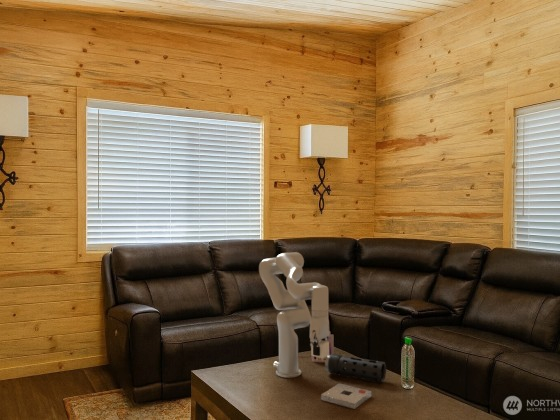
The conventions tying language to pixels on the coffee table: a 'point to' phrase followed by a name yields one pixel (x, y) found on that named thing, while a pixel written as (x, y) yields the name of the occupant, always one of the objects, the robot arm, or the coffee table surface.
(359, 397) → the socket
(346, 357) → the muzzle brake
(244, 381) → the coffee table surface
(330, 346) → the greeting card
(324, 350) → the plug
